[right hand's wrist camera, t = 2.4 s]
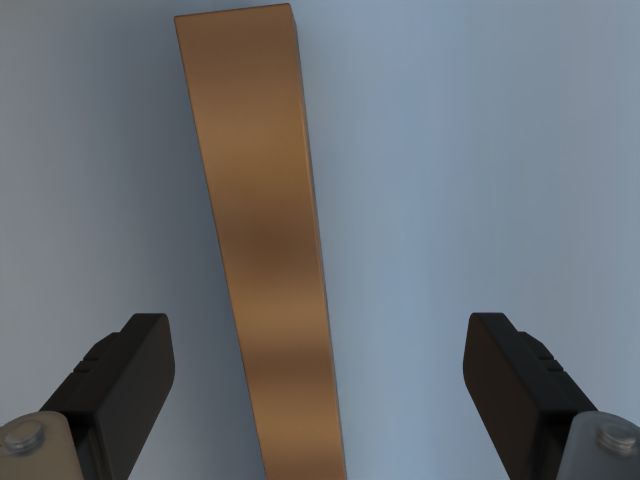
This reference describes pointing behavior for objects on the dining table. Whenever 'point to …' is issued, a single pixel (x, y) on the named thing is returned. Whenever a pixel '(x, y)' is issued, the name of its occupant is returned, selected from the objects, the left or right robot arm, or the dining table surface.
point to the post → (267, 228)
